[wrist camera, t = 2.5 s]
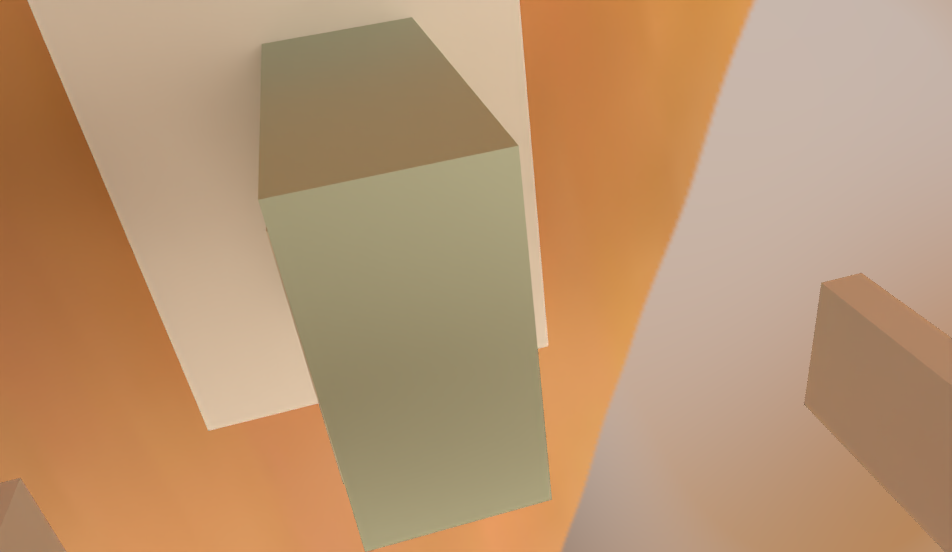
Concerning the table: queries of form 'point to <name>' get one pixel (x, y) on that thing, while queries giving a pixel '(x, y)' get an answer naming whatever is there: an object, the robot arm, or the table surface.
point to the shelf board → (239, 161)
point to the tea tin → (404, 276)
